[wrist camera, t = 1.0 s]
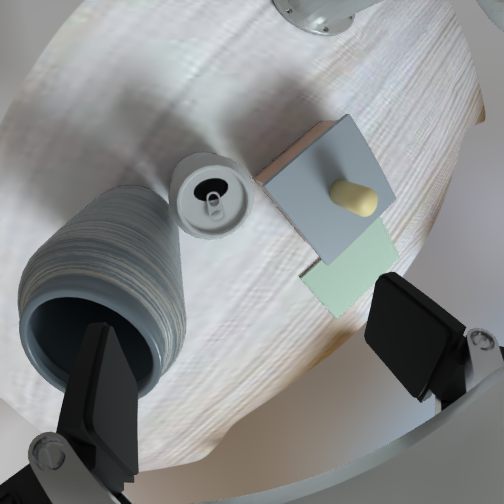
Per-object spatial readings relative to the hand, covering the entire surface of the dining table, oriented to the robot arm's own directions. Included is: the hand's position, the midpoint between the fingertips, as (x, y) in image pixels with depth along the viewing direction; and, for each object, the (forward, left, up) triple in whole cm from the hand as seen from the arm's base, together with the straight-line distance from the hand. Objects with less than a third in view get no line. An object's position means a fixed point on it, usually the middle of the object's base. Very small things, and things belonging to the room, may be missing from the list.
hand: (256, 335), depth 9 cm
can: (-1, 0, -27) cm, 27 cm away
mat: (-10, +26, -27) cm, 39 cm away
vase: (+9, -2, -27) cm, 29 cm away
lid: (-12, +10, -21) cm, 26 cm away
